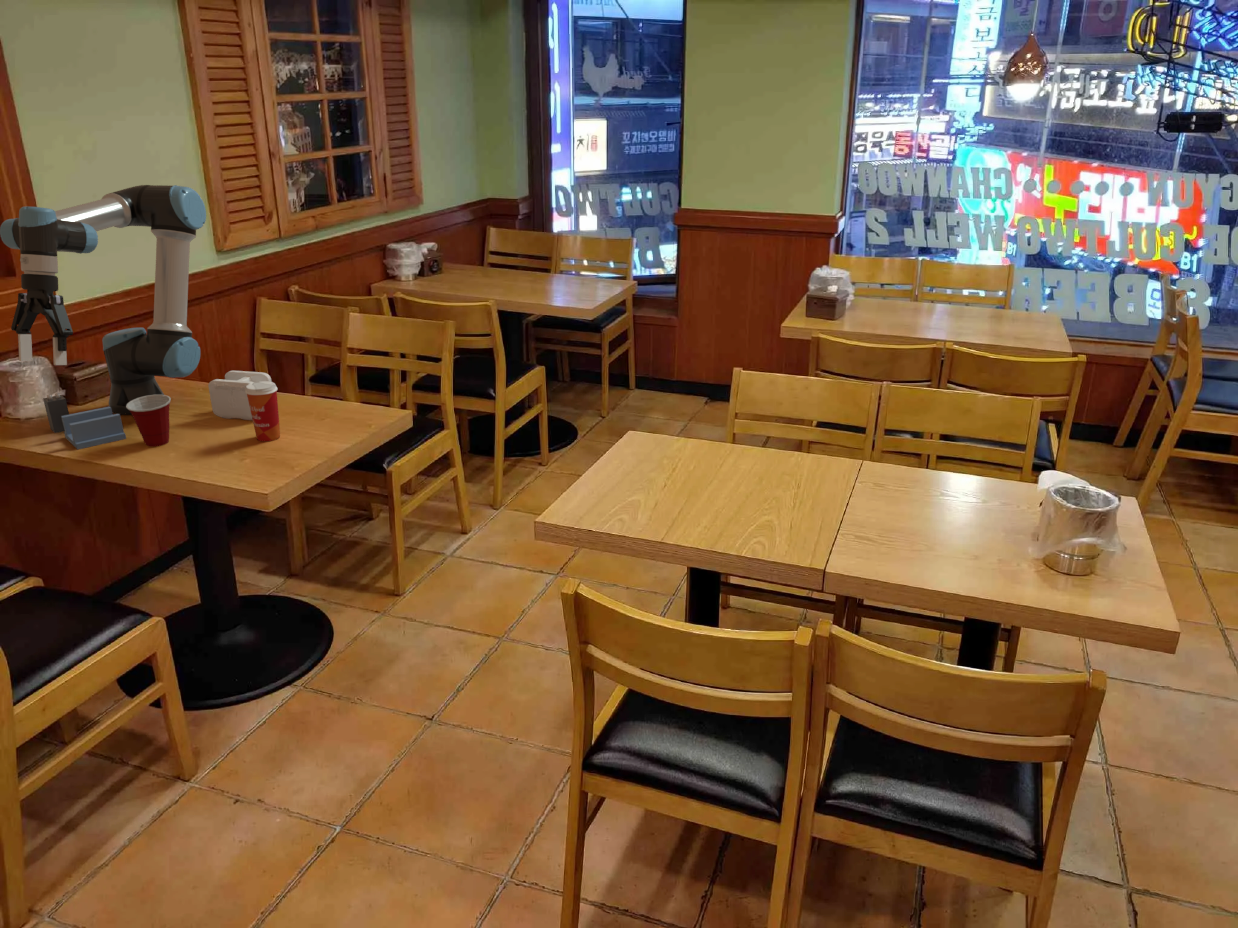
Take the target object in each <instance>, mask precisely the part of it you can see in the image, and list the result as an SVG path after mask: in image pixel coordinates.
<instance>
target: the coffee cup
mask: <svg viewBox="0 0 1238 928" xmlns="http://www.w3.org/2000/svg"><path fill="white" fill-rule="evenodd" d="M278 388H279V387H277V385H276V383H275V382H273V381H271V382H269V381H262V382H259V383H257V382H256V383H252V384H249V385H247V386H246V390H245V393H246V394H247V397H248V402H249V406H250V411H251V415H252V420H251V421H252V425H253V428H254V432H255V436H256V439H257V441H259V442H273V441H275V440H279V439H280V436H281V432H280V431H281V429H280V417H279V416H280V414H279V404H278V393H277V391H278Z"/></svg>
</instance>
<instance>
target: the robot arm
mask: <svg viewBox="0 0 1238 928" xmlns="http://www.w3.org/2000/svg"><path fill="white" fill-rule="evenodd" d="M203 200H204V199H202V198H201V196H200V194H199V193H198V192H197V191H196V190H195V189H193V188H191V187H189V186H181V185H177V184H176V185H162V184H161V185H158V184H156V185H154V184H153V185H151V184H140V185H135V186H131V187H126V188H123V189H119V190H117V191H113V192H108V193H106V194H104V195H103V196H102V197H101V199H97V200H93V201H90V202H86V203H82V204H78V205H73V206H71V207H70V206H69V207H66V208H63V209H59V210H54V209H52V208H47V207H39V206H26V205H25V206H22V207H20V208H19V211H18V217H16V218H9V219H8V218H7V219H6V220H4V221H3V222H2V223H1V225H0V239H1V241H2V243H3V244H4V245H5V246H7V247H8V248H10V249H12V250H19V252H20V258H19V262H20V270H21V272H23V273H21V275H20V279H21V280H20V283H21V285H20V286H21V289H22V290H26V291H27V292H25V293H24V292H18V293H17V304H16V308H15V311H14V314H13V315H14V316H13V319H12V322H11V329H10V330H12V332H13V331H15V332H16V334H17V342H18V344H17V345H18V361H19V362H33V348H32V346H33V343H32V331H31V329H32V327H33V325H34V323H35V321H36V319H37V317H38V315H40V314H41V315H42V316H44V317H45V319H46V322H47V323H48V325H49V327H50V329H51V331H52V332H53V334H52V335H53V336H52V348H53V349H52V352H53V354H52V355H53V365H54V366H67V365H68V359H67V356H68V355H67V349H68V348H67V346H68V345H67V344H68V342H67V338H68V337H69V336H73V334H74V331H73V328H72V325H71V323H70V319H69V316H68V313H67V310H66V307H65V304H64V301H65V300H64V296H63V295H59V294H54V292H58V291H59V277H58V275H56V274H58V273H59V265H58V252H60V253H61V252H62V253H74V254H75V253H76V254H91V253H92V252H93V251H95V249H96V248H97V247H98V243H99V235H98V233H97V232H99V231H102V230H107V229H109V228H112V227H113V228H117V229H123V228H126V227H149V228H150V232H151V234H152V235H154V236H155V237H156V241H155V242H156V249H155V251H156V252H155V273H154V298H153V299H154V300H153V301H154V302H153V322H152V324H150V325H149V326H148V327H147V329H145V328H144V327H131V328H130V327H129V328H124V329H120V330H116V331H111V332H110V333H109V332H108V333H107V334H104V335H103V337H102V340H101V341H102V351H103V355H104V358H105V362H106V368H107V371H108V374H109V379H110V385H111V386H110V393H109V397H108V398H109V399H108V407H109V406H110V407H111V409H112V414H119V415H132V414H131V412H130V411H129V410H128V409H127V408H126V405H127V403H129V402H130V401H132V400H134V399H136V398H139V397H143V396H148V395H165V393H164V392H163V390H162V388H161V387H160V385H159V383H158V381H157V380H156V378H155V377H165V378H172V379H173V378H185V377H188V376H190V375H191V374H193V372H194V371H196V370H197V367H198V366H199V363H200V361H201V360H200V359H201V347H200V345H199V342H198V341H197V340H196V339H194V338H193V331H192V330H191V329H190V328H189V327H188V325H187V322H188V300H189V299H188V297H189V296H188V295H189V277H190V276H189V273H190V272H189V271H190V270H189V269H190V249H191V248H190V245H191V241H193V240H194V239H196V237H197V230H199V229H201V228H203V227H204V224H205V223H206V221H207V220H206V219H207V210H206V206H205V202H204V201H203Z"/></svg>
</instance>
